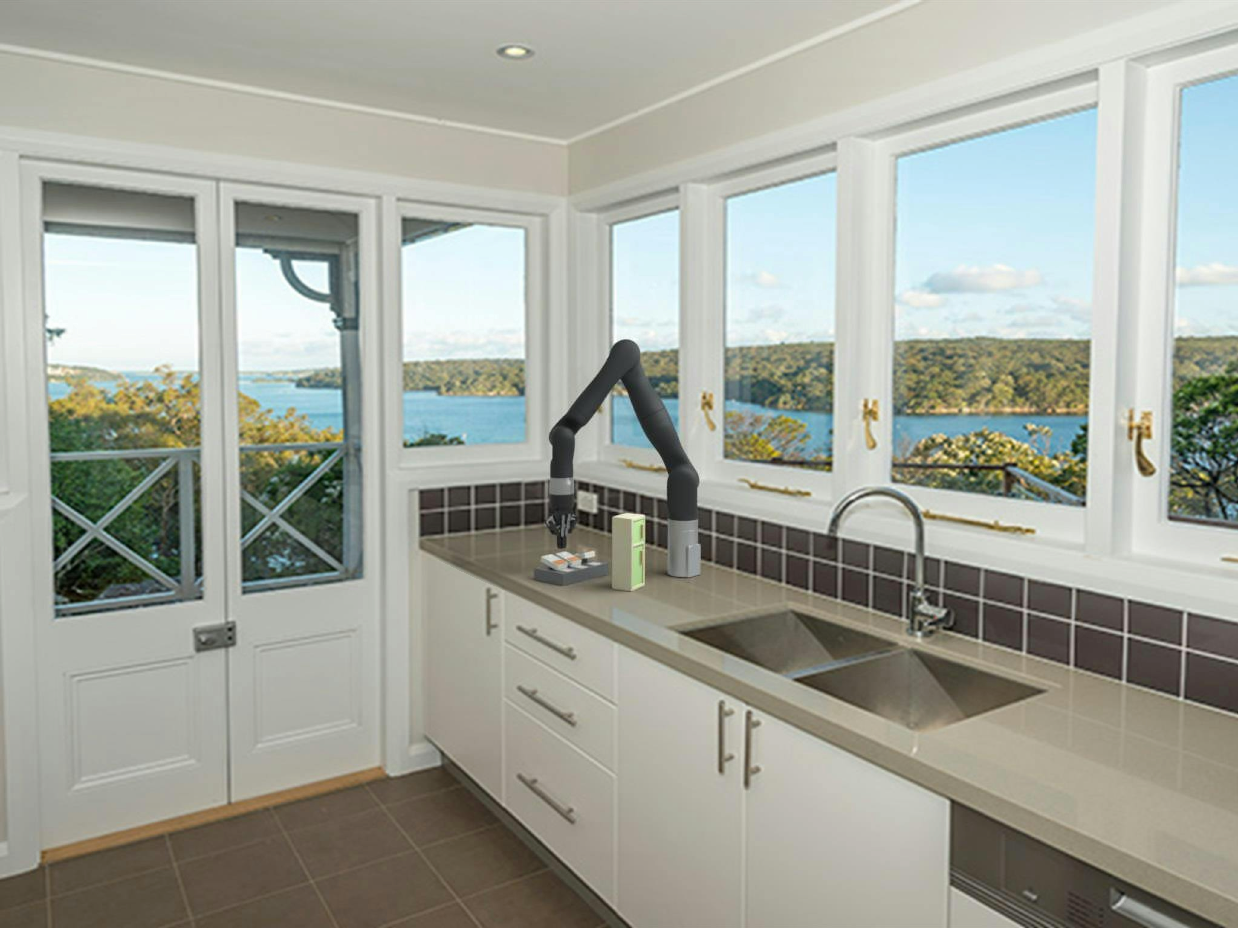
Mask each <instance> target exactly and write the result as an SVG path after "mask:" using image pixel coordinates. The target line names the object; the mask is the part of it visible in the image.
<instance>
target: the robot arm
mask: <svg viewBox="0 0 1238 928" xmlns="http://www.w3.org/2000/svg"><path fill="white" fill-rule="evenodd" d="M619 381H621V383H622V384H623V386H624V388H625V390H626V392H627V395H628V398H629V400H630V404H631V406H632V409H633V410H634V413H635V416H636V418H637V421H638V423H639V425H640V427H641V429H642V431H643V433H644V435H645V436H646V438H647V440H648V441H649V443H650V444H651V445H652V447H653V448H654V449H655V450H656V452H657V453H658V455H659V456H660V458H661V460H662V462H663V464H664V466H665V470H666V472H667V475H668V476H667V479H666V509H667V575H669V576H671V577H675V578H677V577H678V578H692V577H696V576H699V575H701V560H702V559H701V551H702V550H701V549H702V548H701V547H702V546H701V543H699V509H698V488H699V487H700V486H699V485H700V476H699V473H698V471H697V470H696V468H695V466H694V465H693V463H692V462H691V460H690V458H689V457H688V455H687V453H686V452H685V449H684V448H683V446H682V442H681V439H680V438H679V435H678V431H677V430H676V427H675V425H674V423H673V420H672V418H671V417H670V416H671V415H670V414H669V411H668V409H667V407H666V405H665V403H664V402H663V399H661V397H660V395H659V394H658V393H657V391H656V390H655V388H654V387H653V386H652V384H651V383H650V381H649V380H648V378H647V375H646V373H645V371H644V368H643V366H642V362H641V349H640V347H639V345H638V343H637V342H635V341H634V340H631V339H627V338H626V339H625V338H624V339H621V340H618V341H617V342H615V343H614V344H613V345H612V347H611V349H610V350H609V354H608V357H607V358H606V360H605V362H604V363H603V365H602V367H601V368H600V370H599V371H598V372H597V374H596V375H595V377H594V378H592V380H591V381H590V382H589V384H588V385H587V386H586V387H585V388H584V390H583V391H582V392H581V393H580V395H578V397H577V398H576V399H575V401H574V402H573V403H572V405H571V406H570V407H569V408H568V409H567V412H566V413H565V414H564V415H563V416H561V418H560V419H559V420H558V421H557V422H556V423H555V424H554V426H553V427H552V428H551V430H550V431H549V434H548V441H549V443H550V445H551V446H552V447H551V449H552V450H551V451H552V452H551V453H552V454H551V459H550V463H549V464H550V466H549V478H550V479H549V483H548V484H549V485H548V486H549V487H548V490H549V492H548V493H549V494H548V495H549V496H548V497H549V504H548V505H549V508H550V510H551V511H550V514H549V517H548V519H545V520H544V525H545V527H547V529H548V531H549V532H550V534H551V535H552V536H555V537H556V547H557V548H558V549H561V550H564V549H566V548H567V545H568V542H567V541H568V540H567V539H568V538H567V537H568V536H569V534H572V532H573V531H574V528H575V526H576V525H577V523H578V521H579V516H577V515H575V514H574V511H573V508H575V482H574V456H575V449H576V448H575V447H576V437H575V436H576V435H577V434H578V432H579V431H580V430H581V429H582V428H583V427H585V426H587V424H589V422H590V421H591V419H592V418H593V417H594V416H595V414H596V413H597V412H598V411H599V409H600V407H601V406H602V404H603V403H604V402H605V400H606V399H607V397H608V395H609V394H610V393H611V391H612V390H613V388H614V387H615V385H616V384H618V382H619Z"/></svg>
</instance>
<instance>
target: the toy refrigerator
mask: <svg viewBox="0 0 1238 928" xmlns="http://www.w3.org/2000/svg"><path fill="white" fill-rule="evenodd" d="M645 557H646V515H645V514H640V513H630V512H629V513H628V512H626V513H622V514H618V515H614V516H612V517H611V588H612V589H613V590H617V591H618V590H619V591H626V592H634V591H637V590H638V589H640V588H643V587H645V585H646V582H645V581H646V580H645V575H646V574H645V573H646V569H645V568H646V567H645V565H646V560H645V559H646V558H645Z"/></svg>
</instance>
